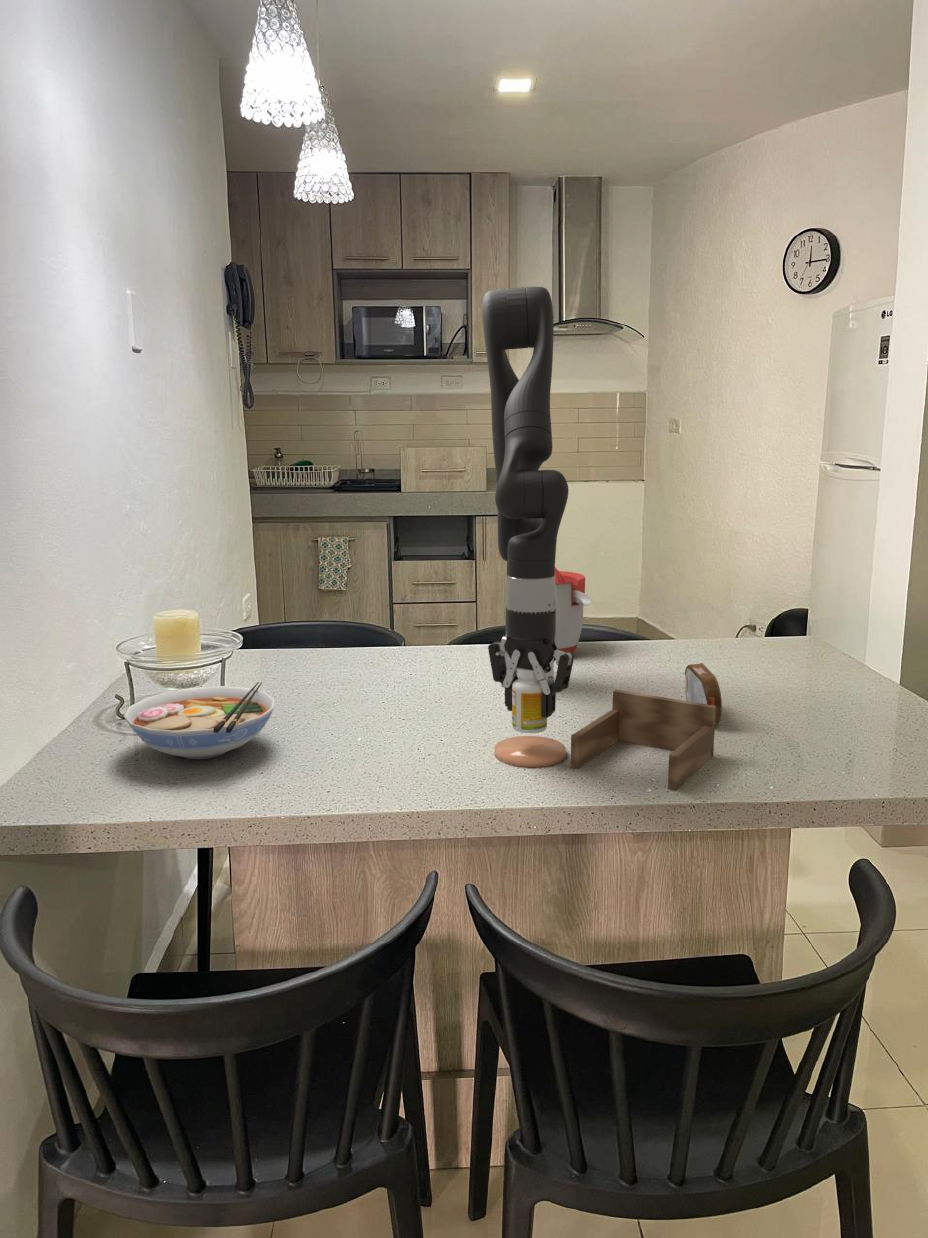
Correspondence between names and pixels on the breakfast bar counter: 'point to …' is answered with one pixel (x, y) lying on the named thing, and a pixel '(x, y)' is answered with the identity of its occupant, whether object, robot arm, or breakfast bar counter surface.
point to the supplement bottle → (527, 703)
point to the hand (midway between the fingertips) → (529, 712)
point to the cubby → (652, 732)
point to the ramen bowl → (200, 719)
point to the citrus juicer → (569, 609)
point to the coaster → (530, 751)
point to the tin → (703, 687)
